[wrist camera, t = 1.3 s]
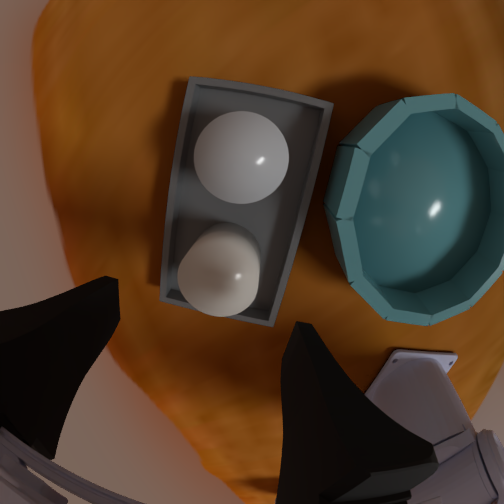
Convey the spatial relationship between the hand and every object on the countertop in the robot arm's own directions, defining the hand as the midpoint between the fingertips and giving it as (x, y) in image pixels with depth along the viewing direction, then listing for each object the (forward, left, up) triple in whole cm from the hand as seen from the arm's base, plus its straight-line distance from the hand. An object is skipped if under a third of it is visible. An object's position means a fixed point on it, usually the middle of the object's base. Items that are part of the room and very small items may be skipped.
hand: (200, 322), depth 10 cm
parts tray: (+3, 0, -7) cm, 8 cm away
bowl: (+6, -11, -7) cm, 15 cm away
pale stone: (0, 0, -7) cm, 7 cm away
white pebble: (+6, 0, -7) cm, 9 cm away
